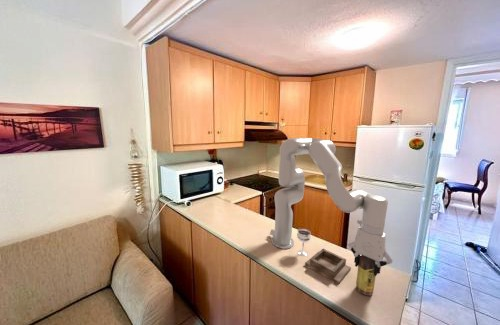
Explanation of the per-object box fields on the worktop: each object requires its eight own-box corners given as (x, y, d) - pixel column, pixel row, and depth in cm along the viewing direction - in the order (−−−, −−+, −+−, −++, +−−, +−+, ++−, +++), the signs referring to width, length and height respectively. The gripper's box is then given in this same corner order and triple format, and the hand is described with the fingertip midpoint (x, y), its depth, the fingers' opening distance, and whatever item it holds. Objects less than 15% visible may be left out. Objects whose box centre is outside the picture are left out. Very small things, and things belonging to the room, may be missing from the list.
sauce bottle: (368, 299, 78) (374, 251, 74) (352, 288, 83) (357, 244, 79) (376, 291, 81) (381, 246, 78) (360, 282, 86) (365, 239, 83)
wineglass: (296, 248, 110) (298, 227, 108) (309, 251, 107) (311, 230, 105) (294, 255, 103) (296, 233, 101) (308, 258, 101) (310, 236, 99)
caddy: (304, 265, 96) (305, 256, 95) (318, 254, 105) (319, 246, 104) (338, 284, 85) (339, 275, 84) (350, 270, 93) (351, 261, 93)
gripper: (345, 222, 81) (340, 262, 84) (397, 240, 68) (389, 286, 72) (352, 217, 86) (347, 255, 89) (401, 232, 74) (394, 276, 77)
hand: (366, 269), depth 80 cm, fingers closed on sauce bottle, 6 cm apart
